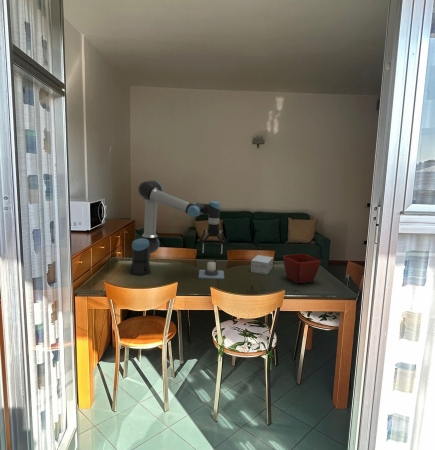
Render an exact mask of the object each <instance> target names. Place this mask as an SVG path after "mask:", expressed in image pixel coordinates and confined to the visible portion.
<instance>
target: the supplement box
mask: <svg viewBox="0 0 435 450" xmlns="http://www.w3.org/2000/svg"><path fill="white" fill-rule="evenodd" d="M250 261H251V262H250V272H251V273H256V274H262V275H268V274H269V273H270V271H271V270H273V266H274V257H273V256H267V255H260V254H258V255H256V256H254V257H253V258H252V259H251V260H250Z"/></svg>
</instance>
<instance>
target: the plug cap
mask: <svg viewBox="0 0 435 450" xmlns="http://www.w3.org/2000/svg"><path fill="white" fill-rule="evenodd" d="M216 265H217V262H215V261H208V262H207V264H206V266H207V267H206V269H207V271H208V272H216V269H217V267H216Z"/></svg>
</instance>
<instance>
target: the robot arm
mask: <svg viewBox="0 0 435 450" xmlns="http://www.w3.org/2000/svg"><path fill="white" fill-rule="evenodd" d="M137 189H138V190H137V192H138V195H140V197H142V198H143V200H144V203H145V204H144V205H145V206H144V207H145V208H144V222H143V223H144V227H143V234H142V235H141V238H137V239H134V240H133V241H132V243H131V255H132V256H131V259H132V260H131V263H130V267H129V274H131V275H134V276H146V275H149V274H151V273H152V267H151V263H150V255H151V254H153V253H155V252H156V251H157V250H158V249H159V248H160V240H159V239H158V237H159V236H158V234H157V215H158V203H160V204H162V205H165V206H168V207H170V208H172V209H175V210H177V211H179V212H181V213H182V212H183V213H184V214H187V215H188V216H189V217H190V218H196V217H199V216H200V215H208V227H207V229H203V232H202V235H200V236H201V237H200V238H199V240H198V243H199V244H201V245H200V246H201V247H200V248H201V249H202V254H204V251H205V242H206V241H207V240H208V239H209V238H210V237H213V238H217V239H218V240H219V242H220V243H221V244H220V245H221V247H220V249H221V251H220V255H223V250H224V249H225V245H227V244H228V243H227V242H228V241H227V239H226V237H225V235H224V230H220V212H221V202H220V201H217V200H216V201H214V200H211V201H209V203H202V202H201V203H200V202H193V203H191V202H190V201H186V200H184V199H181V198H179V197H177V196H174V195H172V194H168V193H167V192H164V191H163V190H164V189H163V186H162V184H161V183H160V182H159V181H156V180H146V181H142V182H141V183H140V184H139V185H138V187H137ZM206 233H207V234H206ZM205 235H206V236H205ZM220 235H221V236H222V238H221V237H220ZM204 237H205V238H204Z"/></svg>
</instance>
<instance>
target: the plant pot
mask: <svg viewBox="0 0 435 450" xmlns="http://www.w3.org/2000/svg"><path fill="white" fill-rule="evenodd" d="M282 259H283V265H284V270H285V273H286V277H287V279H288V280H289V279H290V280H289V281H291V280H292V281H291V282H293V281H294V282H293V283H295V282H296V283H295V284H297V283H304V284H306V283H305V282H311V283H313V281H314V280H315V278H316V276H317V273H318V272H319V268H320V265H321V262H322V261H321V259H318V258H316V257H314V256H311V255H308V254H306V253H297V254H287V255H283V257H282Z"/></svg>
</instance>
